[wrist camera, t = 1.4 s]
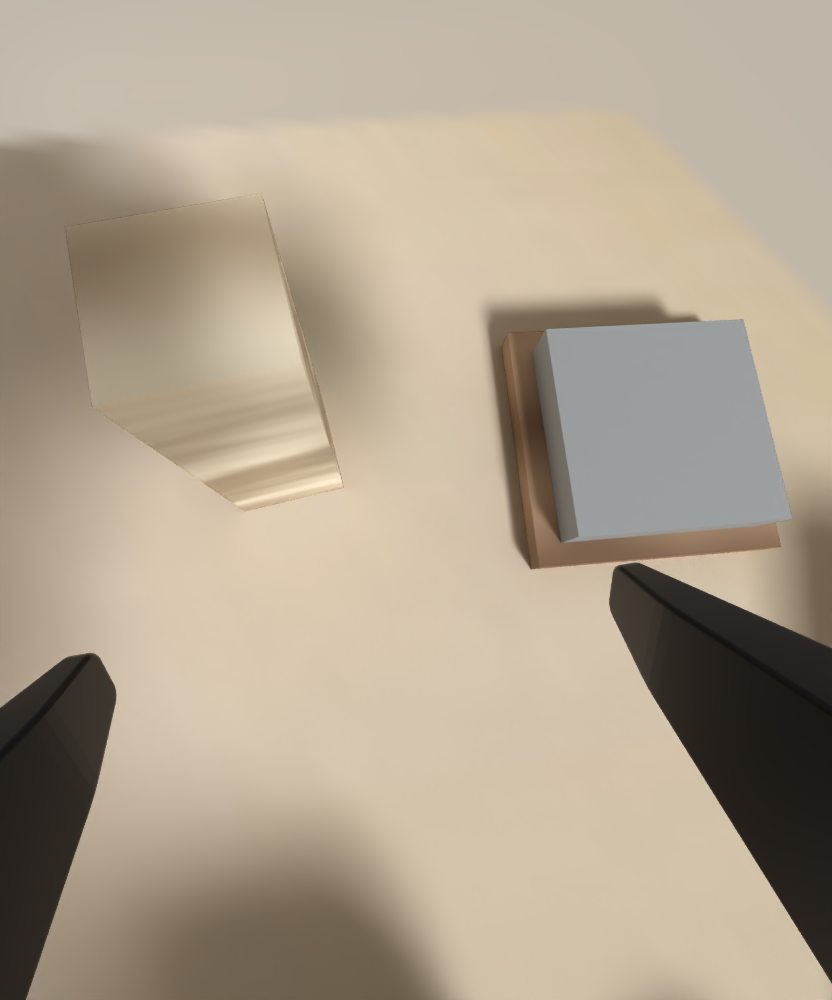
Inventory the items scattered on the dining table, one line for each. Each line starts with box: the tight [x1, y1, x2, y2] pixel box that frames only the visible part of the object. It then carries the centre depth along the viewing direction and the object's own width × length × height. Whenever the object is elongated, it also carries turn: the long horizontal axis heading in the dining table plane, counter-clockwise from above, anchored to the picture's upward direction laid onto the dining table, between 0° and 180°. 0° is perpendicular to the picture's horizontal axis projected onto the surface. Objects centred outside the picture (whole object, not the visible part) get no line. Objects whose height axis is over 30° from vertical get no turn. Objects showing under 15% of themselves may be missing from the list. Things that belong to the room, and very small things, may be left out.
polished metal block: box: [65, 193, 344, 511], centre depth 17 cm, size 4×4×12 cm
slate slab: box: [533, 319, 792, 543], centre depth 22 cm, size 9×9×2 cm
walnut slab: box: [502, 331, 781, 569], centre depth 24 cm, size 11×11×2 cm
